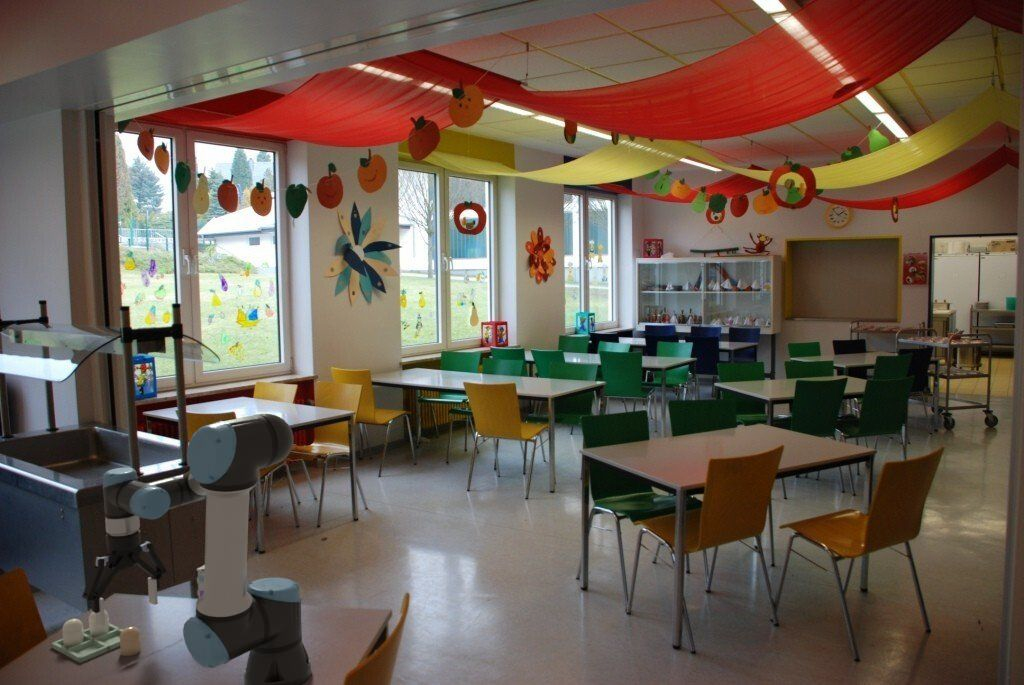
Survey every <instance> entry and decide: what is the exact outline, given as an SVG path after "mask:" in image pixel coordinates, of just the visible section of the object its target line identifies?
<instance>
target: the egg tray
mask: <svg viewBox="0 0 1024 685" xmlns="http://www.w3.org/2000/svg"><path fill="white" fill-rule="evenodd" d="M109 630H110V632H108V633H105V634H103V635H100V636H98V637H95V638H93V637H91V636H90V631H89V627H88V628H86V629H83V632H84V642H83V643H81V644H78V645H76V646H73V647H71V648H68V649H67V648H66V647H64V645H63V638H60V639H58V640H55V641H53V642H51V645H50V646H51V648H52V649H54V650H55V651H56V652H59V653H61V654H62V655H65V657H68V658H70V659H72V660H74V661H76V662H78V663H79V664H80V663H85V662H87V661H89V660H90V659H93V658H96V657H98V656H100V655H103V654H105V653H107V652H109V651H112V650H114V649H117V648H119V647H120V634H121V632H122V631H123V630H124V628H121V627H118V626H116V625H114V624H112V623H110V622H109Z"/></svg>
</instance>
